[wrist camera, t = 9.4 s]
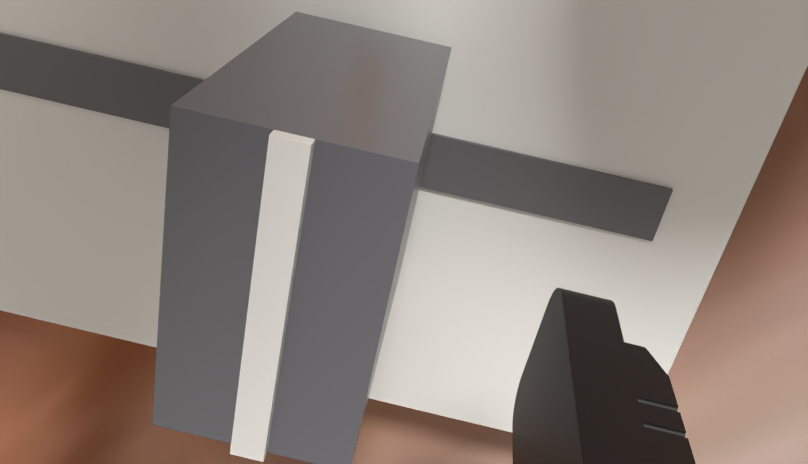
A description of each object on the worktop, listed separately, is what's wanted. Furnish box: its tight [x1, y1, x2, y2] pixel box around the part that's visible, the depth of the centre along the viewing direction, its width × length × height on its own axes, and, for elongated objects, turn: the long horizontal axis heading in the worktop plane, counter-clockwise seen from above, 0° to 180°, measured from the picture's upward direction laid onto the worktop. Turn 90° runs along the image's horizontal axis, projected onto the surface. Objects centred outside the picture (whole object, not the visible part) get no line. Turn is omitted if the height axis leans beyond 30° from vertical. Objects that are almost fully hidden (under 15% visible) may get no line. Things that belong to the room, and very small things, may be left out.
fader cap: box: [152, 12, 452, 464], centre depth 13 cm, size 5×3×6 cm, turn 168°
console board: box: [0, 0, 808, 432], centre depth 17 cm, size 13×28×2 cm, turn 78°
